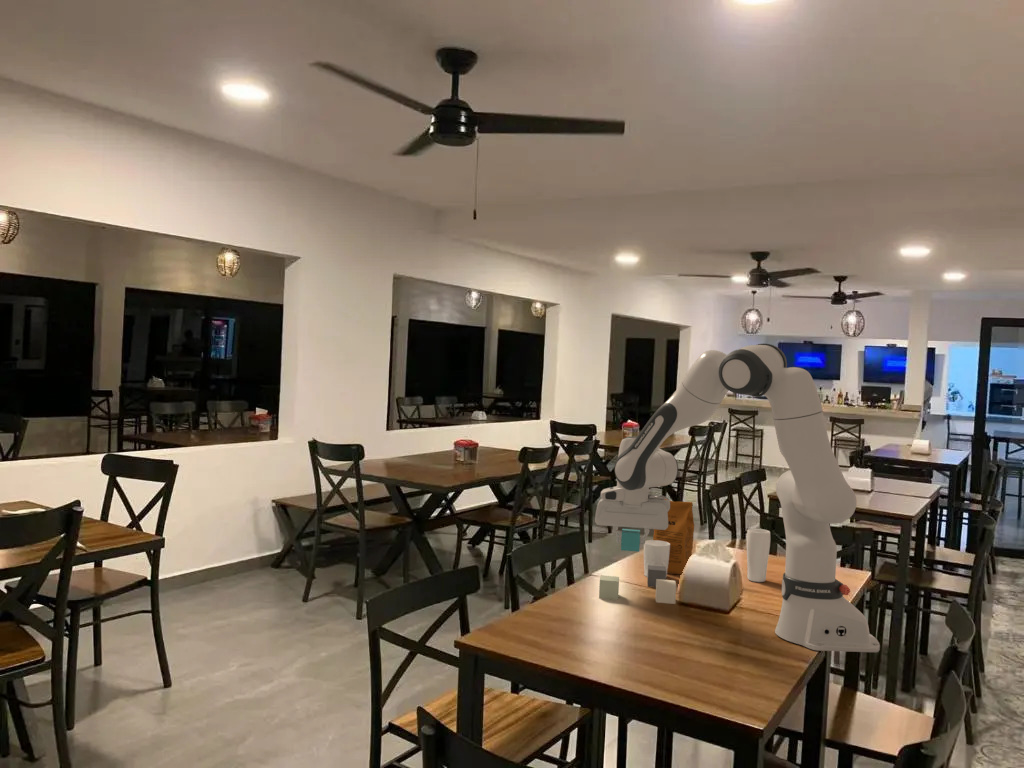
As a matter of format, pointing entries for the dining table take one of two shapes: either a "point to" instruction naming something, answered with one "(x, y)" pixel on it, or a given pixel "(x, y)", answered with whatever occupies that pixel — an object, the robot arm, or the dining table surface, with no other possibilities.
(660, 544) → the white cup
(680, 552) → the coffee package
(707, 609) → the dining table surface
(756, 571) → the drinking glass
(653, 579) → the charcoal cube
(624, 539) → the teal cube
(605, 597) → the sage cube
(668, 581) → the cream cube
